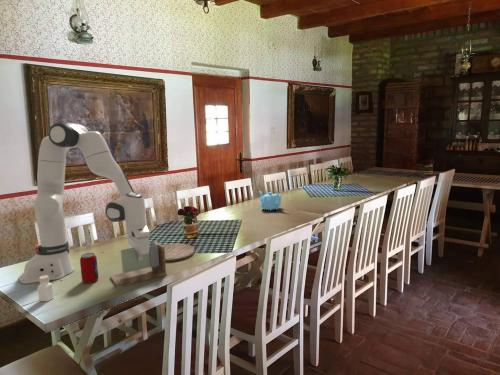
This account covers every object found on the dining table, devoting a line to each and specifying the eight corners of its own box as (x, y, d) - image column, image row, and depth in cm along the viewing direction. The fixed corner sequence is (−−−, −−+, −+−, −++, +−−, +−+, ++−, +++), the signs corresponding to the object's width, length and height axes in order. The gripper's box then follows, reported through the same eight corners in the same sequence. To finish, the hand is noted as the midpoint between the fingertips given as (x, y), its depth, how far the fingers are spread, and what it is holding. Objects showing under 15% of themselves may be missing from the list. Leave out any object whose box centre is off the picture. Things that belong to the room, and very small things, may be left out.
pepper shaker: (47, 302, 147) (44, 279, 145) (38, 301, 148) (35, 278, 146) (54, 297, 151) (51, 275, 149) (45, 296, 151) (42, 274, 150)
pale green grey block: (124, 273, 164) (122, 252, 162) (122, 271, 167) (120, 249, 166) (159, 265, 173) (157, 244, 171) (156, 263, 176) (155, 242, 174)
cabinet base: (117, 287, 159) (114, 257, 157) (110, 277, 169) (107, 250, 167) (166, 275, 171) (165, 247, 168) (157, 266, 181) (156, 240, 178)
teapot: (259, 207, 302) (259, 190, 300) (283, 207, 300) (283, 190, 298) (257, 212, 287) (256, 194, 284) (283, 212, 284) (282, 194, 282)
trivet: (201, 248, 207) (201, 245, 207) (181, 265, 183) (181, 261, 183) (161, 245, 214) (160, 242, 214) (136, 261, 190) (136, 257, 190)
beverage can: (101, 280, 166) (99, 254, 164) (86, 285, 162) (83, 258, 159) (94, 276, 171) (91, 251, 169) (79, 281, 166) (76, 255, 164)
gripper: (123, 225, 173) (125, 254, 176) (136, 235, 156) (138, 267, 159) (136, 223, 177) (139, 251, 179) (151, 233, 160) (153, 263, 162)
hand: (139, 258), depth 169 cm, fingers closed on pale green grey block, 2 cm apart
